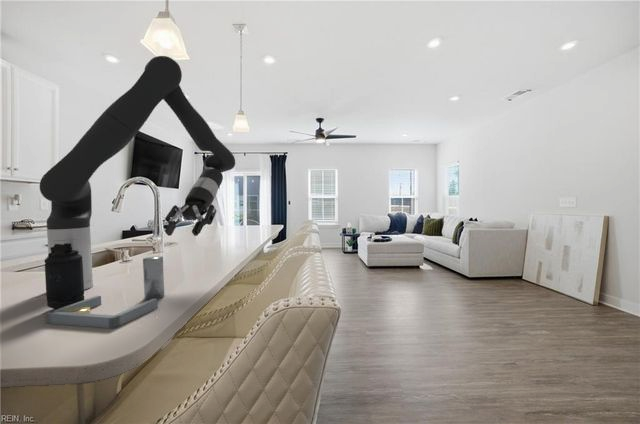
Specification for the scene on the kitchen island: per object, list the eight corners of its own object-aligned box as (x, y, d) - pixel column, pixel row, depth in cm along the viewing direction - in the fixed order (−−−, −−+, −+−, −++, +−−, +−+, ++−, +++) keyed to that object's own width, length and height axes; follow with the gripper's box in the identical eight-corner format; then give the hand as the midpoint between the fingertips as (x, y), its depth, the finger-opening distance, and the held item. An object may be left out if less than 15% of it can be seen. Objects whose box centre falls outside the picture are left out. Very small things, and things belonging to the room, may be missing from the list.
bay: (45, 323, 60) (45, 313, 60) (97, 304, 71) (96, 295, 71) (114, 328, 57) (114, 318, 57) (157, 307, 68) (157, 298, 68)
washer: (61, 322, 61) (60, 314, 61) (77, 314, 65) (76, 307, 65) (80, 321, 61) (79, 313, 61) (95, 313, 65) (94, 306, 65)
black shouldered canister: (92, 303, 72) (88, 241, 71) (66, 314, 65) (62, 245, 65) (64, 303, 72) (61, 241, 72) (36, 313, 66) (32, 245, 65)
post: (140, 299, 74) (138, 259, 74) (153, 294, 78) (151, 256, 78) (155, 300, 73) (154, 259, 73) (168, 294, 77) (166, 256, 77)
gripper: (177, 186, 95) (151, 225, 85) (218, 185, 93) (197, 225, 82) (188, 203, 101) (165, 241, 90) (227, 202, 98) (209, 242, 87)
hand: (180, 234), depth 86 cm, fingers open, 8 cm apart
